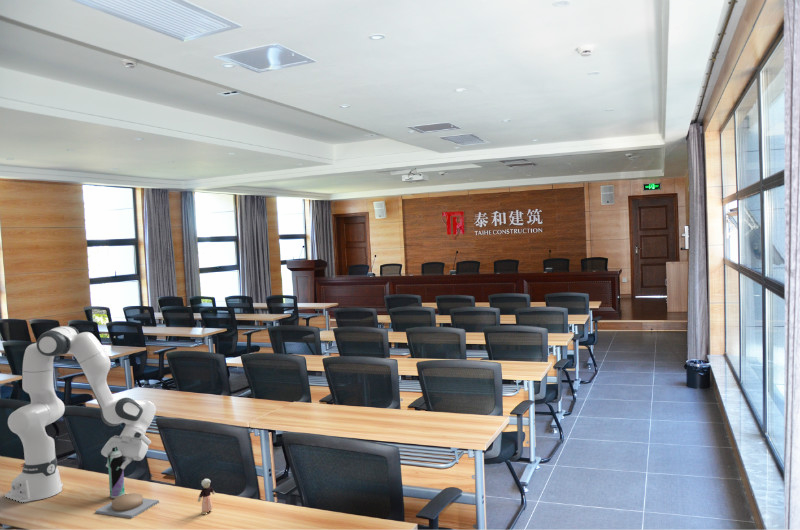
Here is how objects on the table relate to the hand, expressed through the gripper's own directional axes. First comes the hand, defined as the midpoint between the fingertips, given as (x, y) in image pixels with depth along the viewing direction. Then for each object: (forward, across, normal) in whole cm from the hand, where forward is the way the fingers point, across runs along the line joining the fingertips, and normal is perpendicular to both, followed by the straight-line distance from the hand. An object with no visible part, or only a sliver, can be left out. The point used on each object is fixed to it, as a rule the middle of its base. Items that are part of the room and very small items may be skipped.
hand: (114, 468), depth 246 cm
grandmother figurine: (+10, +47, +7) cm, 49 cm away
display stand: (+14, +13, +3) cm, 19 cm away
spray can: (+8, 0, +9) cm, 12 cm away
